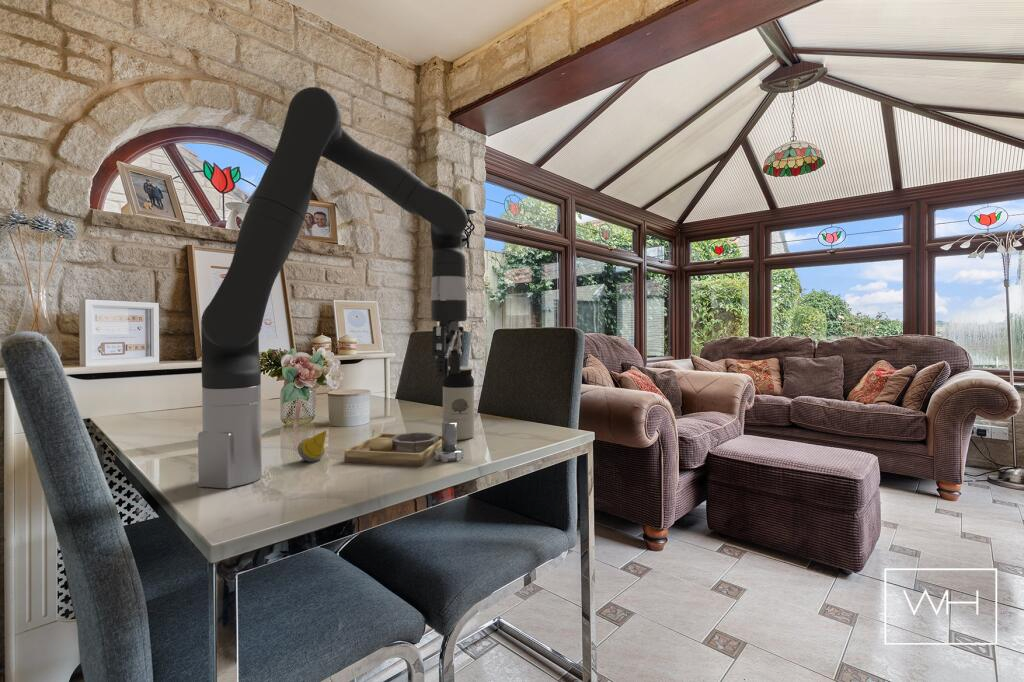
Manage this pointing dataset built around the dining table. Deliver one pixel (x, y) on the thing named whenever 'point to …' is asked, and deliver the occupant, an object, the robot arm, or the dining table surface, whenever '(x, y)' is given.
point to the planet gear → (449, 444)
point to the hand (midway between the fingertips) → (449, 374)
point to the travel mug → (459, 401)
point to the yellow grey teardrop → (312, 448)
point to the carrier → (395, 449)
